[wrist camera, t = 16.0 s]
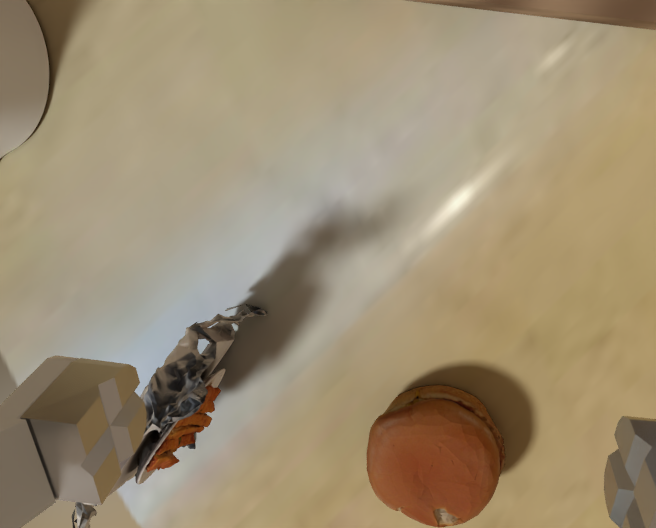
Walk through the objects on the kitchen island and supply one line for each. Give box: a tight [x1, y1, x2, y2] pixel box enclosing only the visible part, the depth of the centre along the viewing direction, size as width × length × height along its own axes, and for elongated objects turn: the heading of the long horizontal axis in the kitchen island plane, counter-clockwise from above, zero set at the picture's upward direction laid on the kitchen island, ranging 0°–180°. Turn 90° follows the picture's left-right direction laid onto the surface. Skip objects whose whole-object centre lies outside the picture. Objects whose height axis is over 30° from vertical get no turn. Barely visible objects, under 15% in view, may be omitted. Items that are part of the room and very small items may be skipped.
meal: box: [72, 304, 267, 528], centre depth 40 cm, size 15×4×13 cm, turn 148°
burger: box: [367, 385, 505, 527], centre depth 41 cm, size 10×9×5 cm
